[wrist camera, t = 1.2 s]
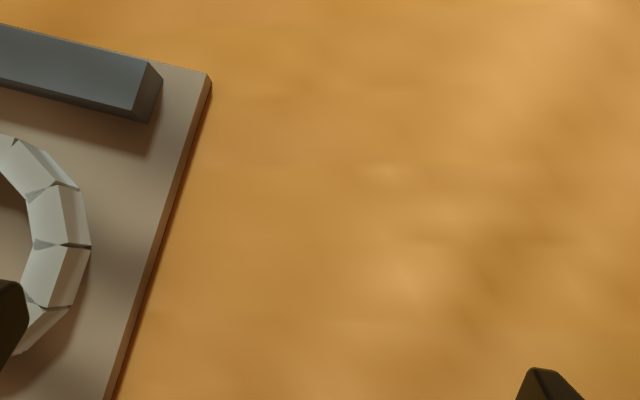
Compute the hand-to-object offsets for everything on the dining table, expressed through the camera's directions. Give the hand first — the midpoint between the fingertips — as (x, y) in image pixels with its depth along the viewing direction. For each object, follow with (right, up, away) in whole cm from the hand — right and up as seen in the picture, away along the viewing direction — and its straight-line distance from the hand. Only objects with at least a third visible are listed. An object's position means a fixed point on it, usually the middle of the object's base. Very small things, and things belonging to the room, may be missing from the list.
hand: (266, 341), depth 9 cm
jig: (-15, +2, +16) cm, 22 cm away
